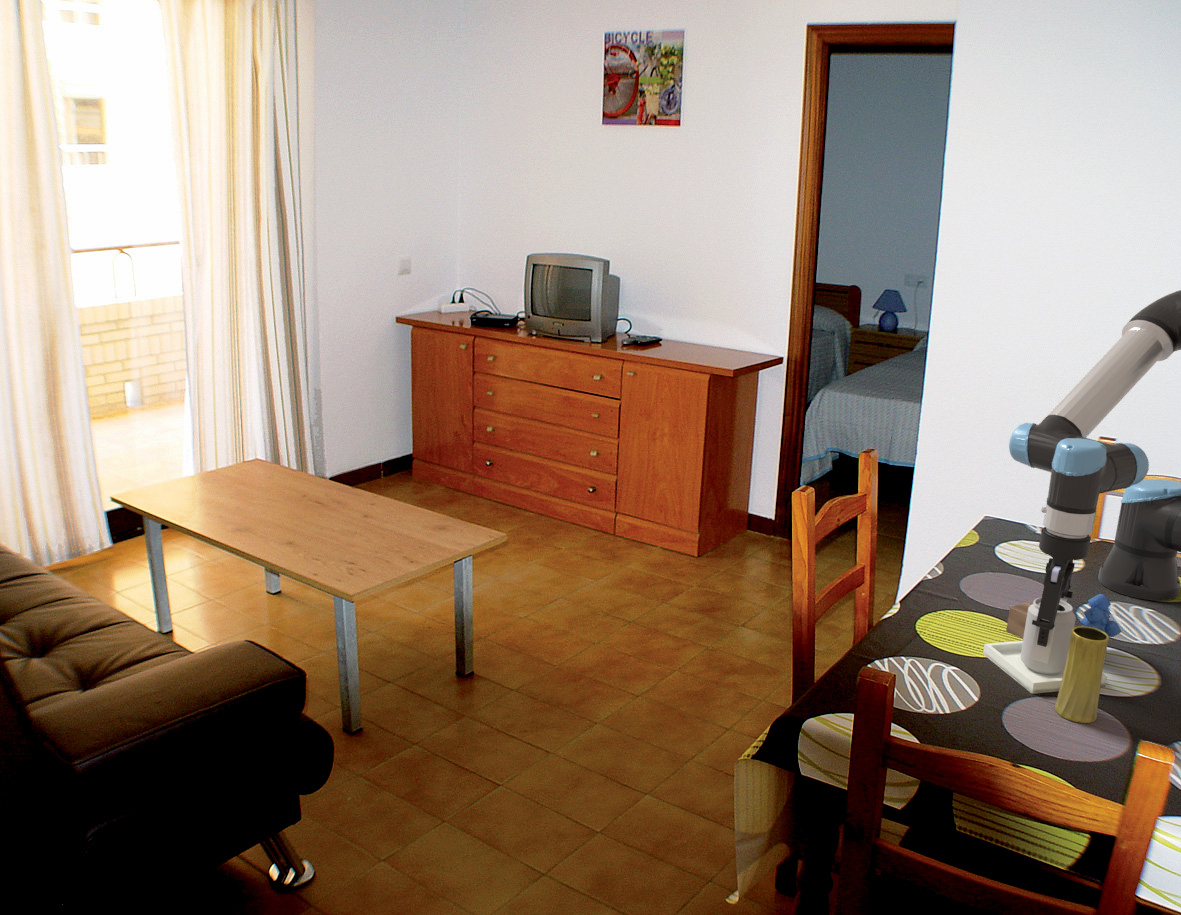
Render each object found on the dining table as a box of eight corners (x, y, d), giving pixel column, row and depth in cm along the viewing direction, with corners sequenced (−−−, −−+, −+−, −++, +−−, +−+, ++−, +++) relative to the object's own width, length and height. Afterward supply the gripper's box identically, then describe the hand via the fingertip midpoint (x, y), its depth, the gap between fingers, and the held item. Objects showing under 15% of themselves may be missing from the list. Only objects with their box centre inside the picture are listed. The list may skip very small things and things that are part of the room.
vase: (1047, 703, 159) (1061, 624, 155) (1082, 703, 160) (1097, 624, 156) (1067, 724, 154) (1083, 642, 149) (1104, 723, 154) (1120, 642, 150)
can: (1071, 679, 166) (1082, 615, 163) (1024, 674, 167) (1035, 610, 164) (1060, 659, 173) (1070, 596, 170) (1015, 654, 174) (1025, 592, 171)
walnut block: (1022, 625, 187) (1026, 602, 186) (1045, 636, 183) (1050, 612, 182) (1005, 631, 184) (1009, 607, 183) (1029, 642, 180) (1033, 618, 179)
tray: (1051, 647, 178) (1053, 638, 178) (1104, 686, 165) (1106, 676, 165) (982, 653, 175) (984, 643, 175) (1031, 693, 162) (1033, 683, 162)
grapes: (1109, 674, 169) (1121, 611, 166) (1067, 662, 173) (1078, 600, 170) (1121, 649, 178) (1133, 589, 175) (1081, 638, 182) (1092, 579, 179)
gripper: (1054, 506, 175) (1035, 614, 181) (1029, 548, 155) (1009, 667, 161) (1100, 515, 171) (1080, 624, 177) (1080, 559, 151) (1058, 681, 157)
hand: (1046, 645), depth 169 cm, fingers open, 13 cm apart
